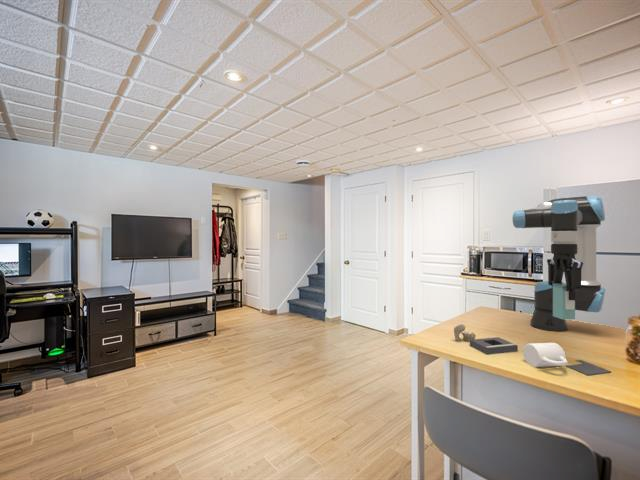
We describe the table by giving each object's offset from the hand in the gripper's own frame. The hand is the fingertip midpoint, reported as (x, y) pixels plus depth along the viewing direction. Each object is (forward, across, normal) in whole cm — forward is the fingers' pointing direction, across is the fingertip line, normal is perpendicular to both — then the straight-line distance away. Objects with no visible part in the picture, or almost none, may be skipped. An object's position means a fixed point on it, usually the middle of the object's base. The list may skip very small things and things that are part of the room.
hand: (563, 307), depth 112 cm
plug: (+4, 0, 0) cm, 4 cm away
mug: (+21, +3, -8) cm, 23 cm away
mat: (+21, +4, +4) cm, 22 cm away
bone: (+21, -24, -25) cm, 41 cm away
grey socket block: (+21, -15, -18) cm, 31 cm away
